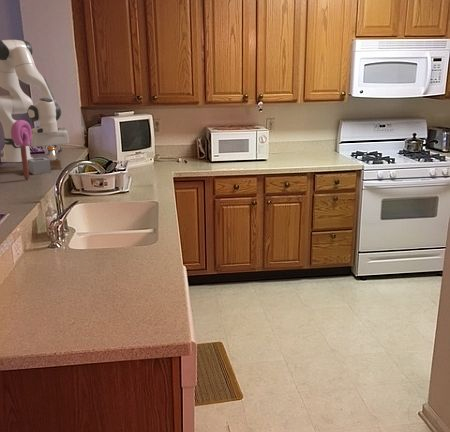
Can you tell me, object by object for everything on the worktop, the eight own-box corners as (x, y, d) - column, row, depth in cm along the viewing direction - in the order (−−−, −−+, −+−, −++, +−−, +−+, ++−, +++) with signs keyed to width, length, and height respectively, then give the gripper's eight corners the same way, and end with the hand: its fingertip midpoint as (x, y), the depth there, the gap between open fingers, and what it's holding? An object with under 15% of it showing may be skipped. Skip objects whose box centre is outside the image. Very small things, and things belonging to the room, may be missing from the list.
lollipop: (25, 183, 243) (18, 121, 234) (12, 182, 244) (4, 121, 236) (40, 177, 255) (34, 118, 247) (28, 176, 257) (21, 118, 248)
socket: (29, 171, 269) (27, 159, 267) (46, 170, 274) (44, 157, 272) (33, 174, 262) (32, 161, 260) (51, 172, 267) (49, 159, 265)
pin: (48, 168, 278) (46, 147, 275) (55, 167, 281) (53, 146, 277) (50, 169, 275) (48, 148, 272) (58, 168, 278) (55, 147, 274)
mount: (45, 168, 279) (44, 159, 277) (57, 167, 283) (56, 158, 281) (48, 170, 273) (48, 161, 272) (61, 168, 277) (60, 160, 276)
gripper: (66, 126, 280) (68, 151, 284) (28, 129, 268) (31, 154, 272) (69, 127, 275) (72, 152, 279) (31, 130, 264) (34, 156, 268)
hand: (51, 153), depth 276 cm, fingers closed on pin, 4 cm apart
